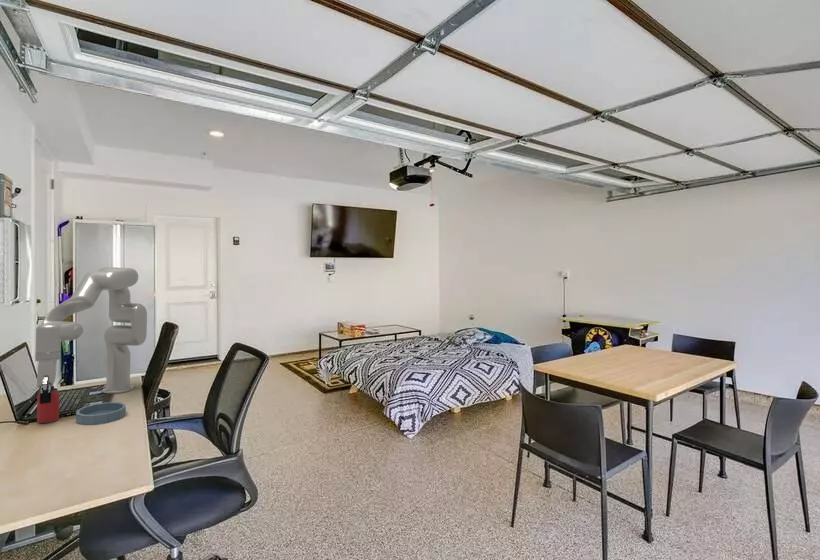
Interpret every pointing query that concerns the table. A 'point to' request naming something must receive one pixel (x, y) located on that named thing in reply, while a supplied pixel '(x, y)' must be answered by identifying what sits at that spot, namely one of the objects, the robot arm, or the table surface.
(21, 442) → the table surface
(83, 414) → the bowl
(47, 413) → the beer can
